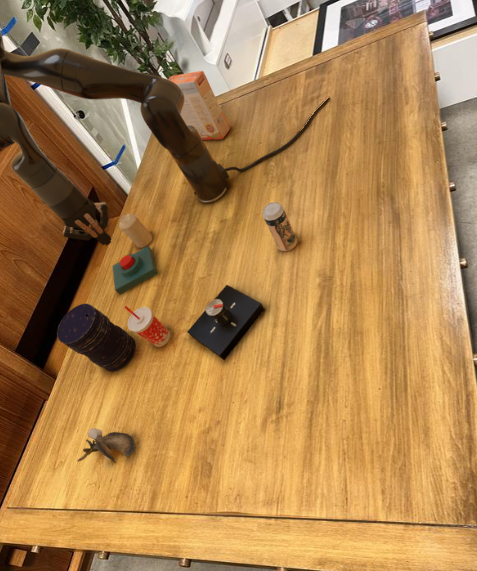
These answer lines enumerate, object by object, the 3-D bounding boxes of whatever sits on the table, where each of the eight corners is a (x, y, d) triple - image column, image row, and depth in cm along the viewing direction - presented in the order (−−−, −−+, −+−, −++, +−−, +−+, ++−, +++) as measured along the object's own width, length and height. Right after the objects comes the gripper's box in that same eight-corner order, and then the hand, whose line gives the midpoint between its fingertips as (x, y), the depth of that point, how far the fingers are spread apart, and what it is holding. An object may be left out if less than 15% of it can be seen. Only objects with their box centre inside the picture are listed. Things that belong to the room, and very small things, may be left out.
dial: (213, 326, 83) (203, 315, 80) (215, 311, 86) (206, 299, 82) (230, 324, 82) (221, 313, 78) (232, 308, 84) (223, 296, 81)
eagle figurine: (87, 477, 76) (119, 474, 72) (68, 449, 75) (99, 444, 70) (111, 447, 83) (142, 443, 78) (94, 421, 81) (124, 415, 77)
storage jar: (105, 380, 90) (58, 352, 79) (98, 349, 97) (54, 320, 86) (140, 356, 90) (98, 326, 79) (131, 327, 97) (92, 295, 86)
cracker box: (231, 128, 133) (203, 69, 117) (222, 140, 130) (193, 81, 115) (201, 129, 141) (171, 74, 125) (192, 140, 138) (161, 85, 123)
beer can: (292, 253, 90) (276, 218, 81) (275, 250, 92) (257, 216, 84) (301, 237, 92) (286, 201, 83) (283, 235, 94) (267, 199, 85)
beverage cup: (177, 337, 89) (142, 305, 79) (156, 355, 89) (118, 325, 78) (166, 321, 93) (132, 289, 83) (146, 338, 93) (109, 308, 82)
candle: (149, 246, 113) (129, 223, 105) (134, 249, 115) (113, 226, 108) (154, 232, 116) (135, 208, 108) (139, 235, 118) (119, 212, 111)
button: (134, 256, 107) (130, 252, 106) (135, 265, 105) (131, 261, 103) (122, 263, 107) (119, 259, 106) (124, 271, 105) (120, 267, 104)
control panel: (230, 290, 91) (226, 284, 89) (265, 309, 84) (261, 302, 82) (192, 337, 87) (186, 331, 86) (224, 360, 81) (219, 355, 79)
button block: (152, 250, 111) (144, 241, 108) (157, 273, 105) (149, 264, 102) (117, 270, 113) (108, 261, 110) (119, 294, 106) (110, 286, 103)
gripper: (80, 168, 89) (126, 220, 102) (33, 202, 89) (84, 250, 101) (85, 182, 84) (133, 234, 96) (35, 218, 84) (89, 265, 96)
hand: (108, 242), depth 99 cm, fingers closed
